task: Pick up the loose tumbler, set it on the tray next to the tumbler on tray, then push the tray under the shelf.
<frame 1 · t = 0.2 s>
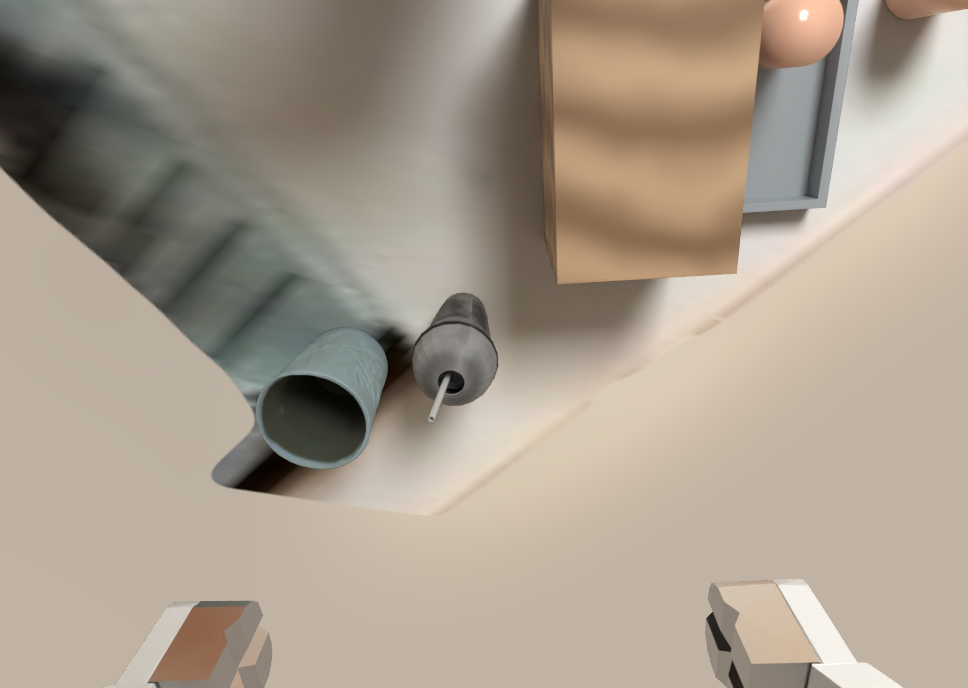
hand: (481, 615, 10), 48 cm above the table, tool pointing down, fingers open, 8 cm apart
shelf: (614, 113, 51), on the table
teal cup: (346, 363, 62), on the table
tray: (744, 104, 49), point 1 cm above the table, slide at 7.5 cm, touching tumbler on tray
beverage cup: (463, 313, 59), on the table
tumbler on tray: (759, 37, 48), point 1 cm above the table, touching tray
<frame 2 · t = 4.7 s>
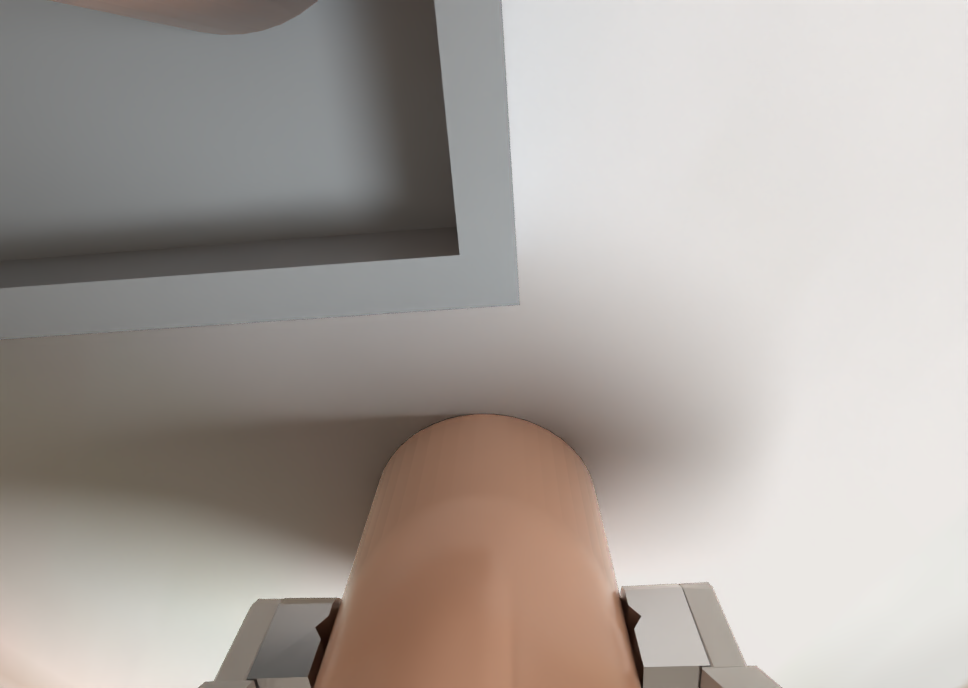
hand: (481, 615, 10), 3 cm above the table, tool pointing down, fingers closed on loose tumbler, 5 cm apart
loose tumbler: (486, 509, 13), on the table, touching gripper
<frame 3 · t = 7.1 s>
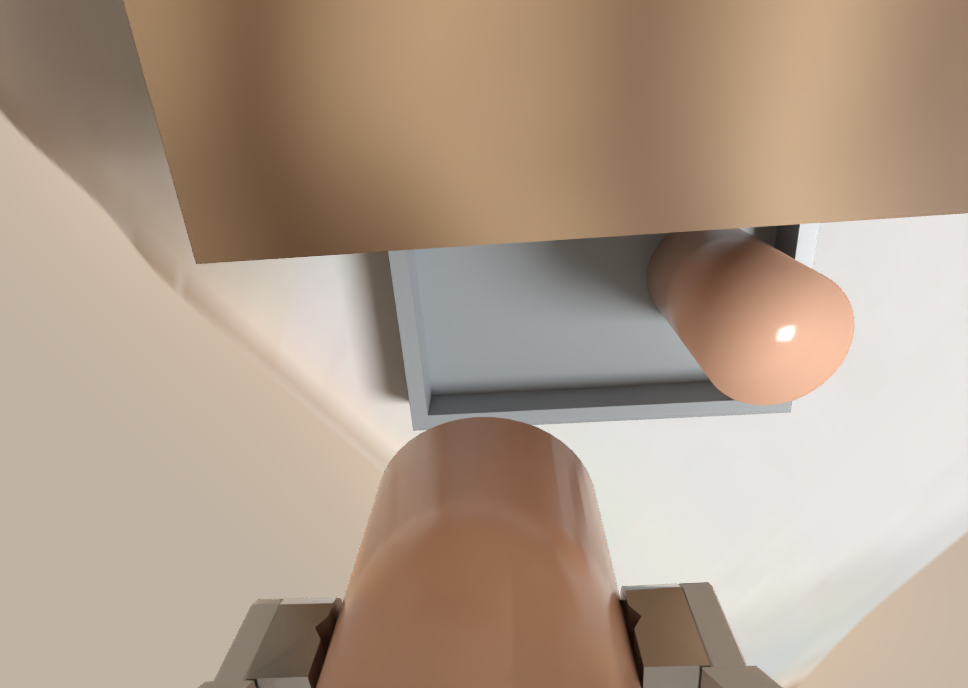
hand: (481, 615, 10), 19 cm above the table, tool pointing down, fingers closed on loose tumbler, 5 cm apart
tray: (594, 263, 26), point 1 cm above the table, slide at 7.5 cm, touching tumbler on tray
loose tumbler: (486, 512, 13), point 16 cm above the table, touching gripper
tumbler on tray: (701, 273, 27), point 1 cm above the table, touching tray
when the fingers open (5 cm above the table, at t = 9.8 s): loose tumbler drops 1 cm, resting on tray.
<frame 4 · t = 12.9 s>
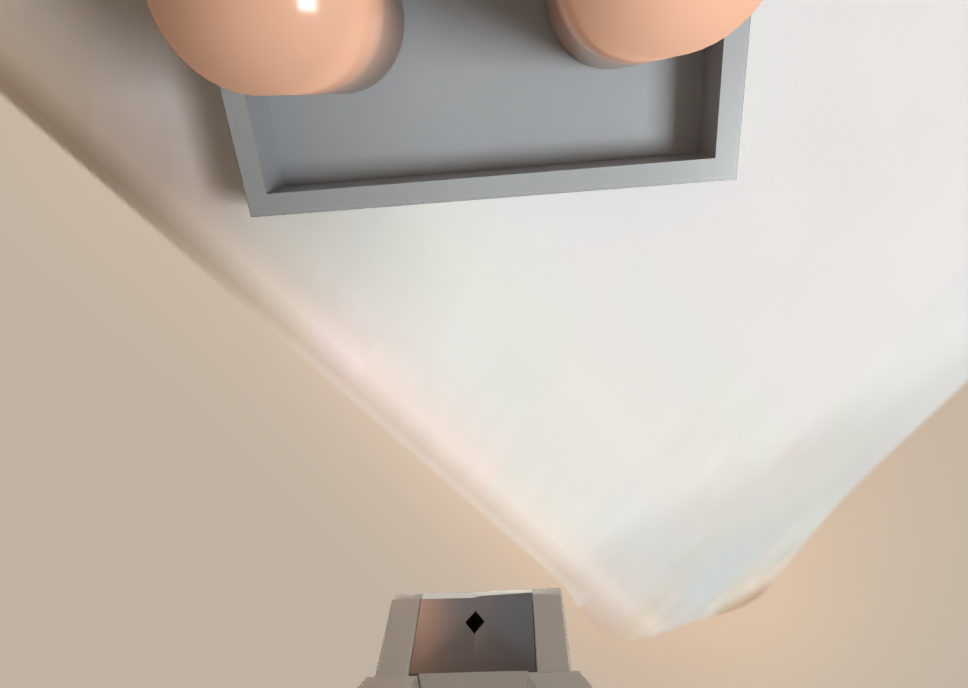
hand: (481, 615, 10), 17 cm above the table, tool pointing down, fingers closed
loose tumbler: (335, 19, 21), point 1 cm above the table, touching tray
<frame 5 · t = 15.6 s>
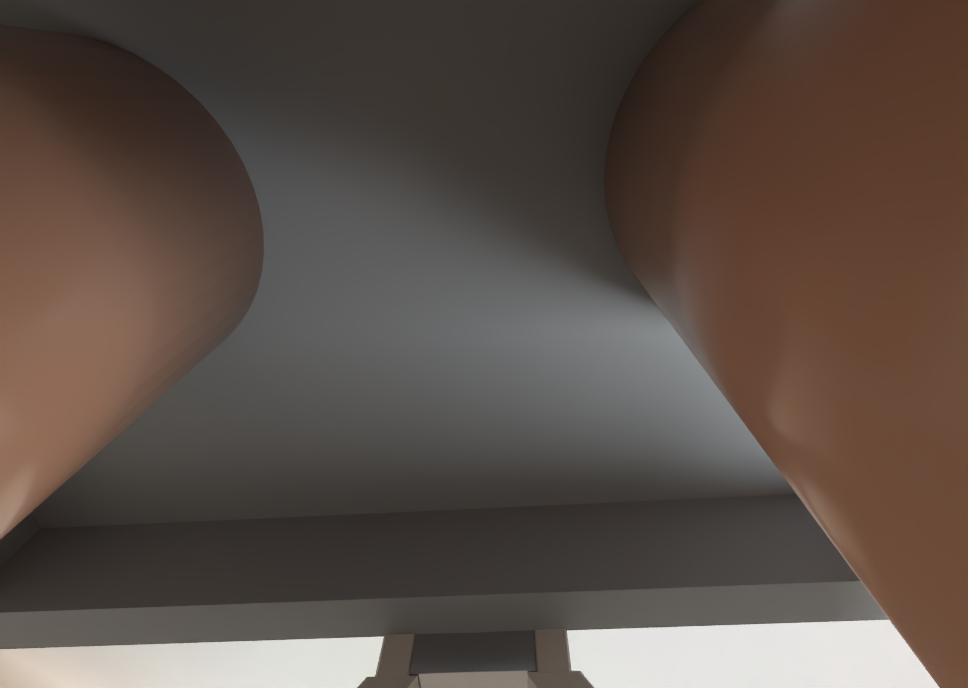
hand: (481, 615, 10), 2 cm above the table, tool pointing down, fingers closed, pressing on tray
tray: (415, 122, 7), point 1 cm above the table, slide at 6.4 cm, touching gripper, loose tumbler, tumbler on tray
loose tumbler: (97, 220, 9), point 1 cm above the table, touching tray
tumbler on tray: (783, 166, 8), point 1 cm above the table, touching tray
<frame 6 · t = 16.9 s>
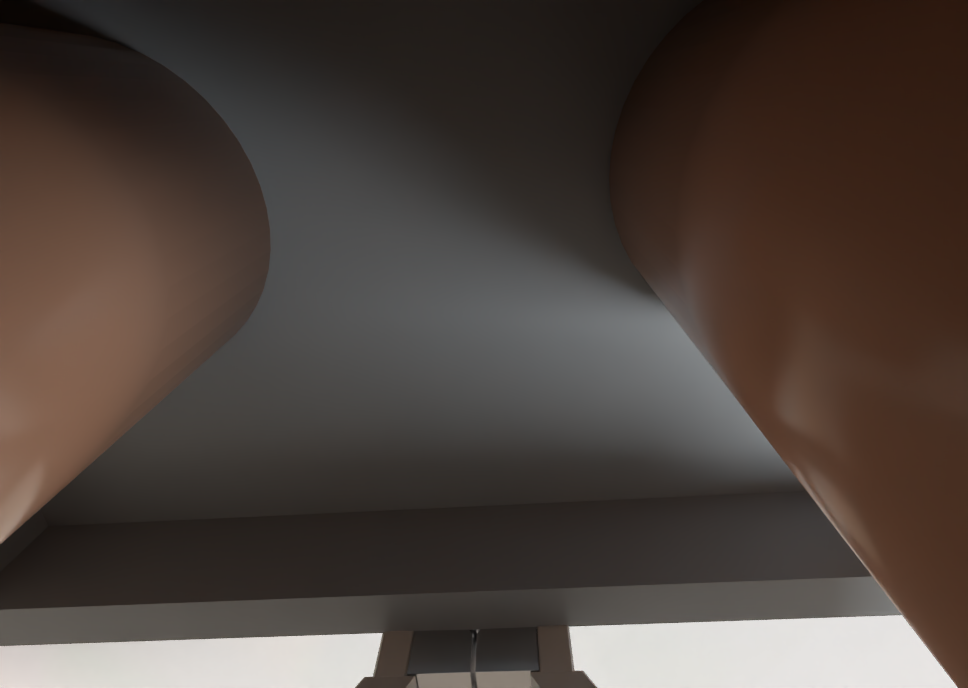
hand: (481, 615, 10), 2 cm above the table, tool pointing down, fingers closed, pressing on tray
tray: (421, 120, 7), point 1 cm above the table, slide at 0.6 cm, touching gripper, loose tumbler, tumbler on tray
loose tumbler: (105, 219, 9), point 1 cm above the table, touching tray
tumbler on tray: (787, 164, 8), point 1 cm above the table, touching tray
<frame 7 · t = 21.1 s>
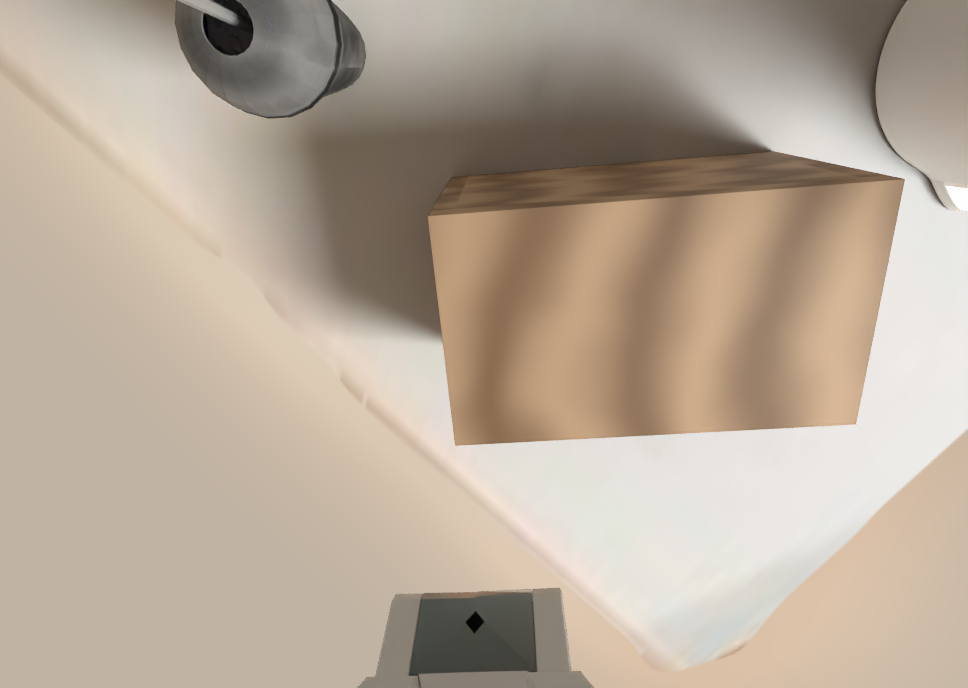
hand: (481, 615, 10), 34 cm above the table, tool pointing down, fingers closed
shelf: (609, 256, 42), on the table
beverage cup: (332, 52, 38), on the table
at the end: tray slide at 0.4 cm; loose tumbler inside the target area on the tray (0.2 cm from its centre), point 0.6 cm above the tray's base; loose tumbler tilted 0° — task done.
